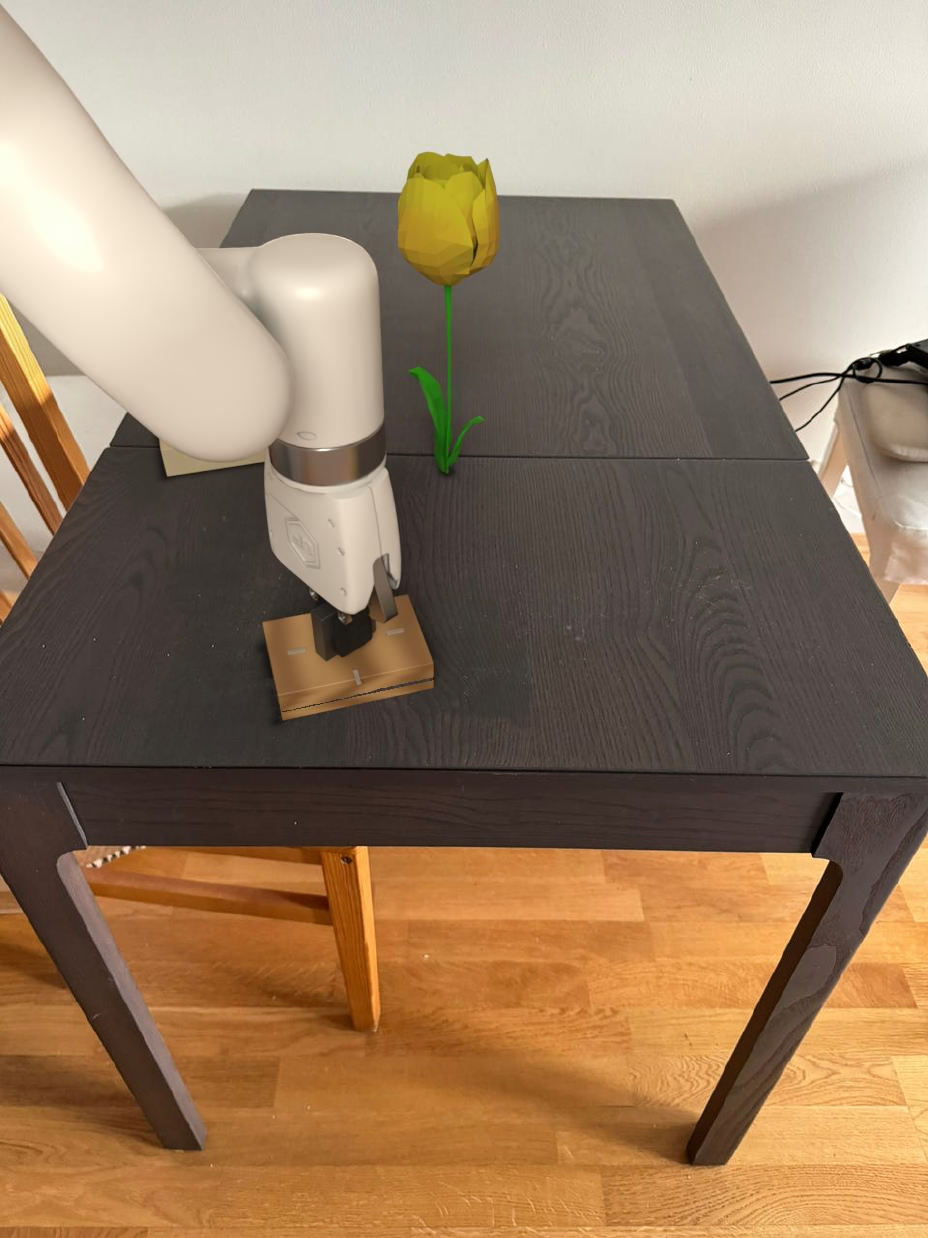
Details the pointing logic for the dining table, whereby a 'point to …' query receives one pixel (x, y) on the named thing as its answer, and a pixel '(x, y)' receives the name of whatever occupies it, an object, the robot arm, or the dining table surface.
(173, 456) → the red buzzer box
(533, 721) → the dining table surface
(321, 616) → the black block
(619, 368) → the dining table surface
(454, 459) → the flower
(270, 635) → the dial panel
